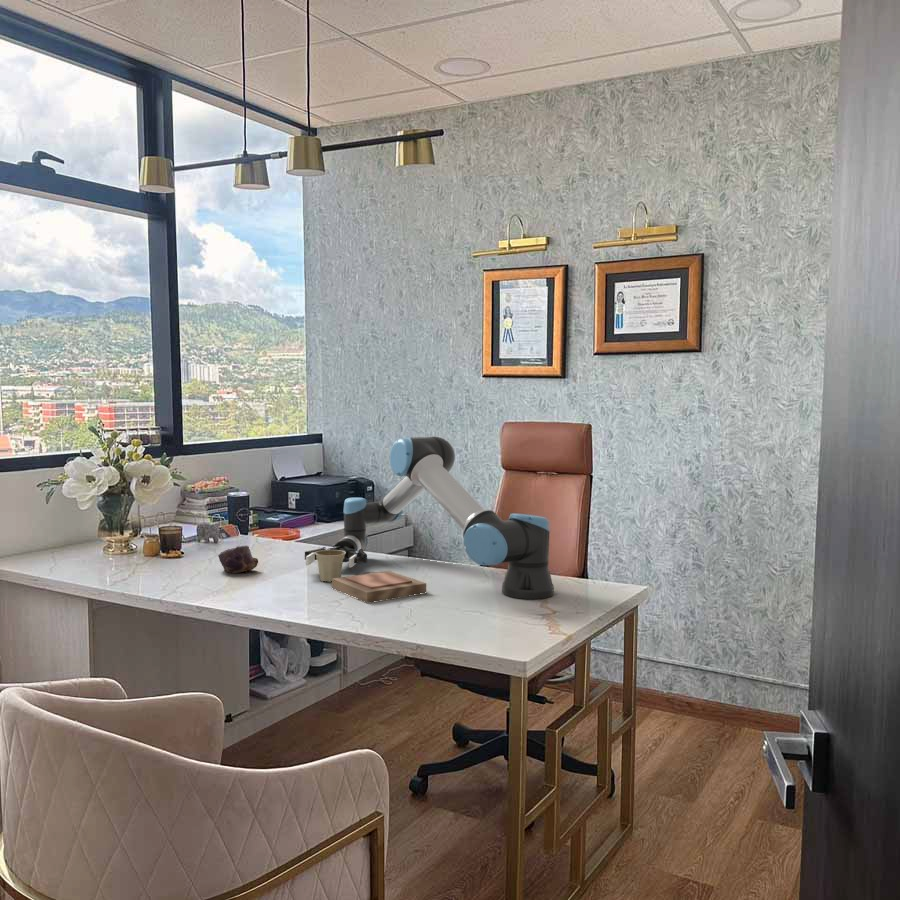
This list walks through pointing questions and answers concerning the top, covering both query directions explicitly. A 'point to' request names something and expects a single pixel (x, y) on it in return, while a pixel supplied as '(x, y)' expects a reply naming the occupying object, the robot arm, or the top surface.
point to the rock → (237, 559)
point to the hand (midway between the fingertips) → (328, 562)
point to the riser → (378, 586)
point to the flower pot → (330, 564)
